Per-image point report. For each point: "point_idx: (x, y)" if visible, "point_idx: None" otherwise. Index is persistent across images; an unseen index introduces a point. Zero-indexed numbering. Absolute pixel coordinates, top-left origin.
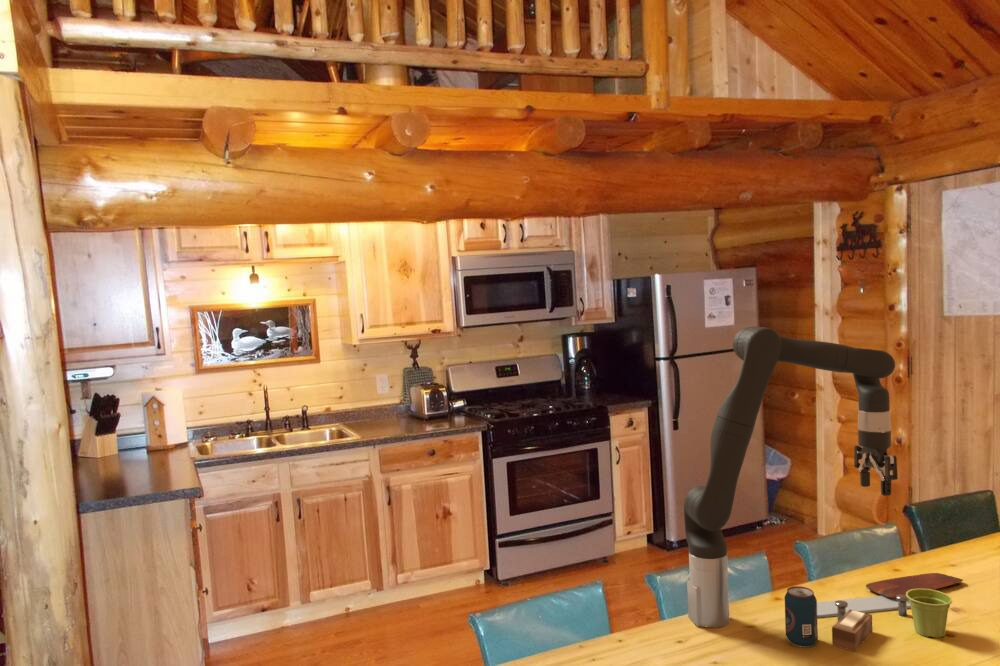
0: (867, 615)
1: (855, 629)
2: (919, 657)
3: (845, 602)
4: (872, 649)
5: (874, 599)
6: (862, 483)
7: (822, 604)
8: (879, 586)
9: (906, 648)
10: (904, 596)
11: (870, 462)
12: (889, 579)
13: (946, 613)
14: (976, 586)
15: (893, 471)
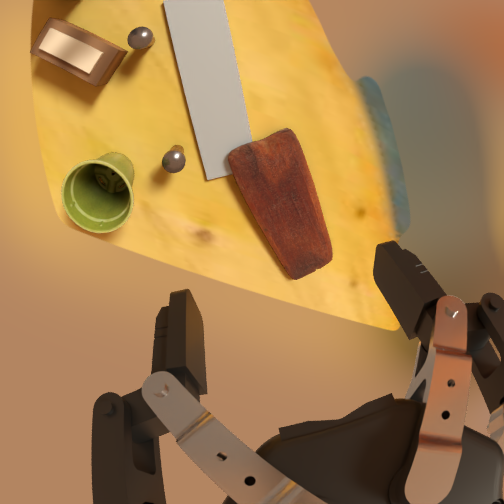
0: (92, 77)
1: (42, 53)
2: (38, 136)
3: (141, 45)
4: (51, 75)
5: (235, 123)
6: (386, 254)
7: (214, 22)
8: (277, 150)
9: (58, 124)
10: (174, 166)
11: (357, 450)
12: (306, 180)
13: (87, 208)
14: (283, 286)
15: (144, 463)
